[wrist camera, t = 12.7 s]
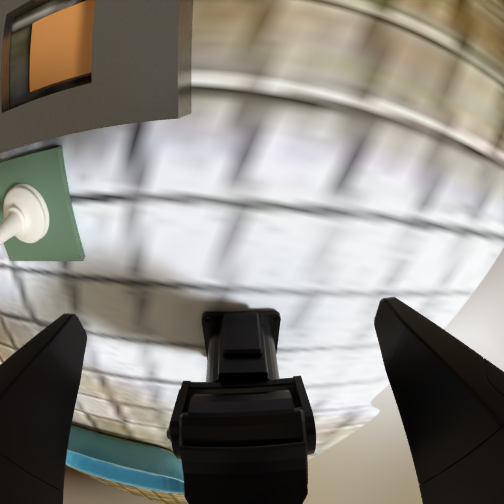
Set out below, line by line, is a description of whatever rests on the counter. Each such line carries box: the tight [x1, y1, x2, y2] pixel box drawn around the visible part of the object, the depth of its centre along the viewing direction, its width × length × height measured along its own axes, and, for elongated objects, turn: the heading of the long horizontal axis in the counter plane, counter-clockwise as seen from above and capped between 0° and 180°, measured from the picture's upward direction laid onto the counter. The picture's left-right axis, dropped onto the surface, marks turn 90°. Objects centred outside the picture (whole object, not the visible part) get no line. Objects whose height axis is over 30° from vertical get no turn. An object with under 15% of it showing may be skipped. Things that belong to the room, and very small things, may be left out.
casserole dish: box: [66, 425, 184, 494], centre depth 41 cm, size 37×22×7 cm, turn 82°
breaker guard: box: [0, 0, 193, 153], centre depth 10 cm, size 12×16×4 cm
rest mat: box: [0, 146, 85, 261], centre depth 17 cm, size 9×9×1 cm
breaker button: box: [30, 0, 95, 92], centre depth 11 cm, size 5×5×1 cm
